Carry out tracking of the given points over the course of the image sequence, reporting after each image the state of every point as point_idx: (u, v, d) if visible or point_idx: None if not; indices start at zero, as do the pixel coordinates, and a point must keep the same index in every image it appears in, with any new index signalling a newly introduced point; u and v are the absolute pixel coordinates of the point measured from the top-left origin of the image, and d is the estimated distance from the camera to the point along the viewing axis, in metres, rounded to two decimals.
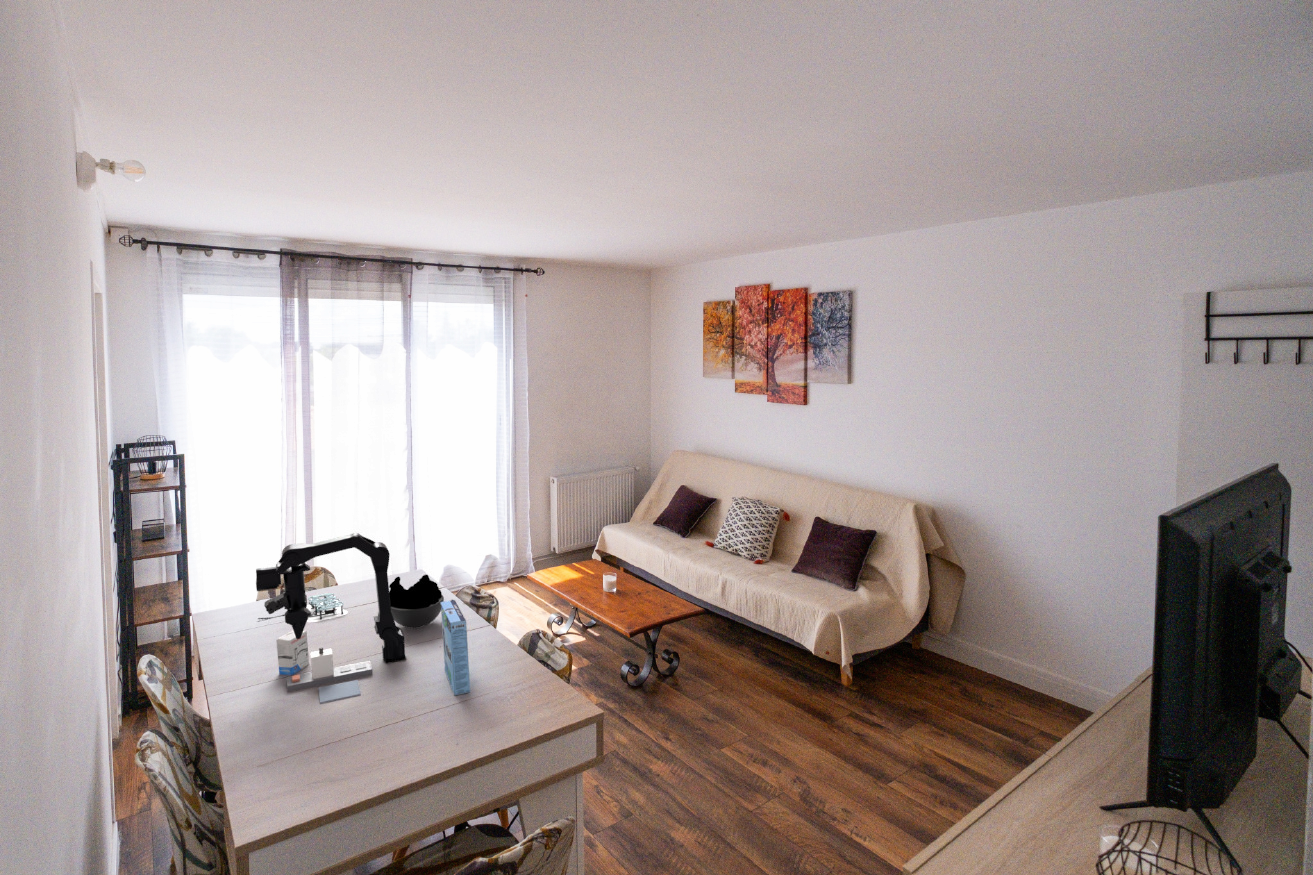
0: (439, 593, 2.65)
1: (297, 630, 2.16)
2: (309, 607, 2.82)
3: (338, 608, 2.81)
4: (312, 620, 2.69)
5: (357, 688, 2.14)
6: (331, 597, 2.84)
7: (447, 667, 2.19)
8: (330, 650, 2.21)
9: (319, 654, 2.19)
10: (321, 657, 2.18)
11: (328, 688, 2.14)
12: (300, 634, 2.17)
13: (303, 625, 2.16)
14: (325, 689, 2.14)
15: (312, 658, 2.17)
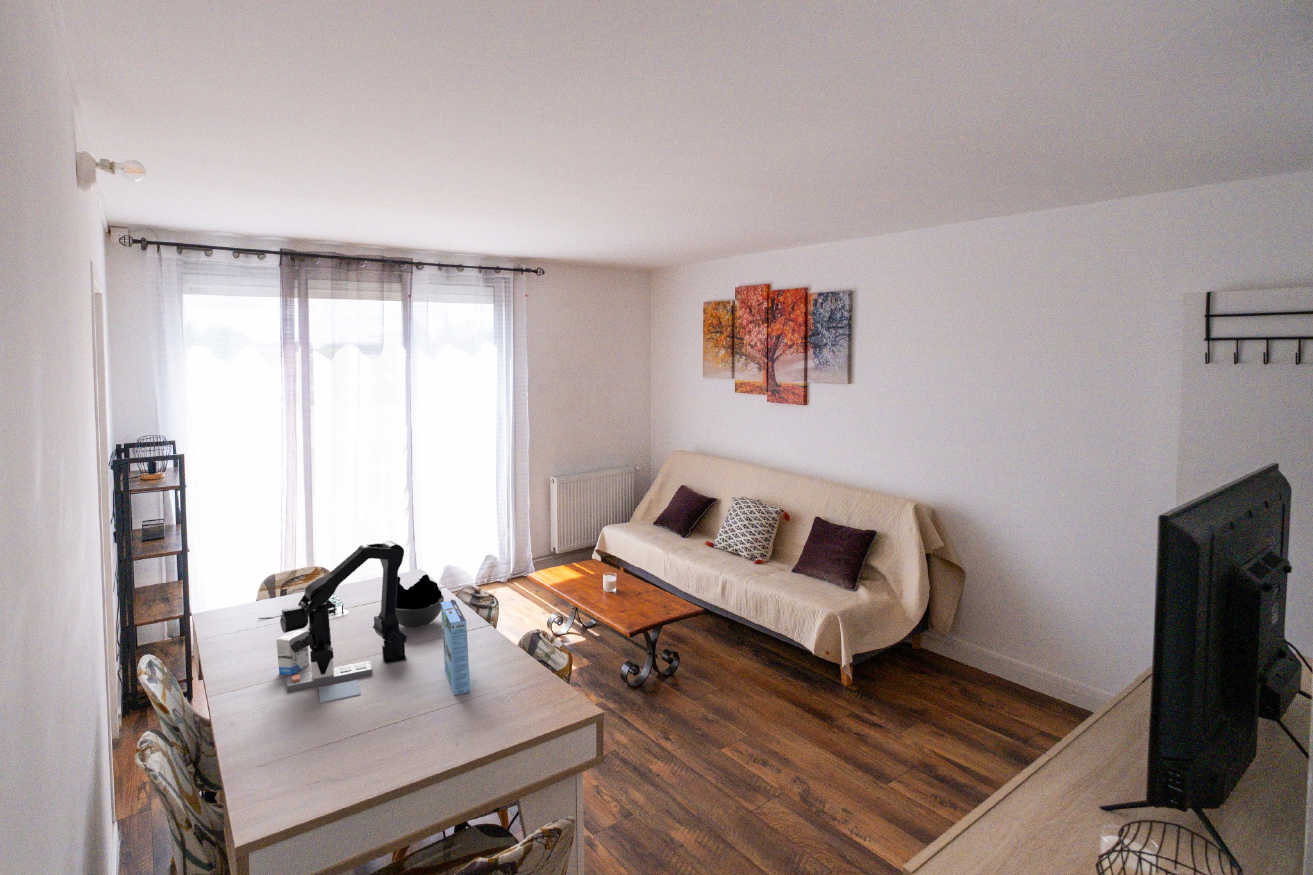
0: (439, 593, 2.65)
1: (322, 666, 2.17)
2: None
3: (338, 608, 2.82)
4: None
5: (357, 688, 2.14)
6: (331, 597, 2.84)
7: (447, 667, 2.19)
8: None
9: None
10: None
11: (328, 688, 2.14)
12: (325, 670, 2.18)
13: (328, 661, 2.17)
14: (325, 689, 2.14)
15: None
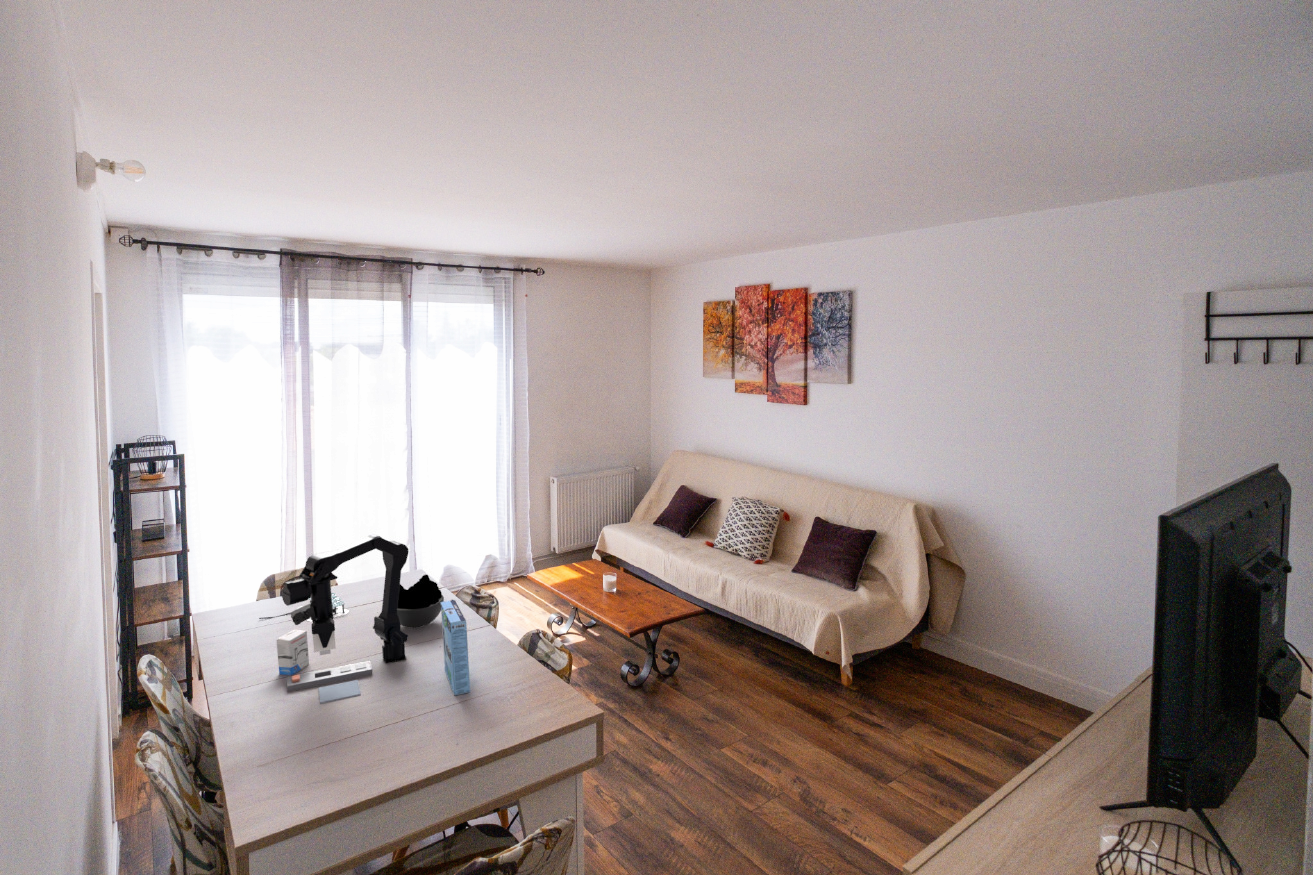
0: (439, 593, 2.65)
1: (324, 639, 2.14)
2: None
3: (339, 607, 2.82)
4: None
5: (357, 688, 2.14)
6: (332, 596, 2.84)
7: (447, 667, 2.19)
8: None
9: None
10: None
11: (328, 688, 2.14)
12: (326, 643, 2.14)
13: (329, 634, 2.14)
14: (325, 689, 2.14)
15: None
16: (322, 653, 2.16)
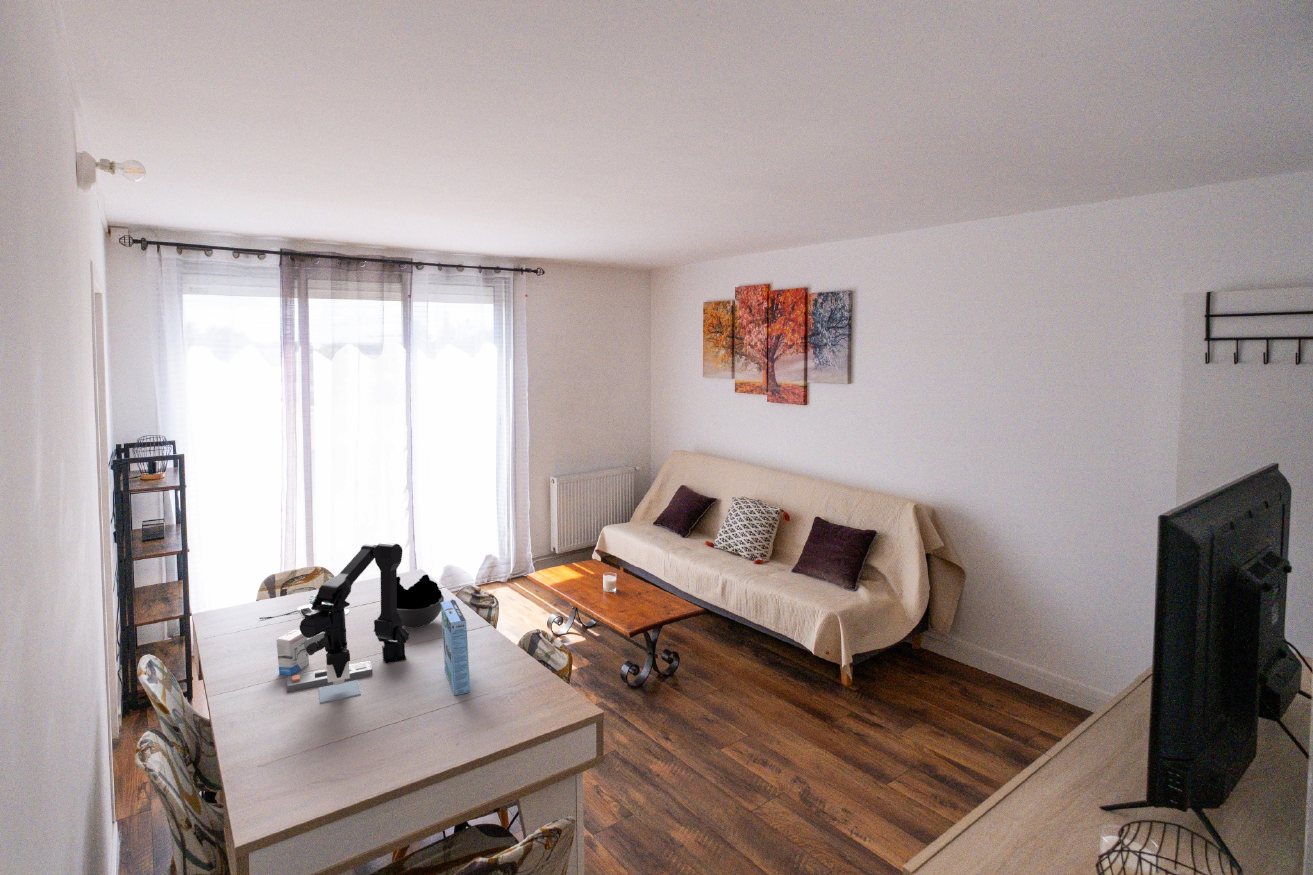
0: (439, 593, 2.65)
1: (338, 669, 2.09)
2: (310, 606, 2.83)
3: None
4: None
5: (357, 688, 2.14)
6: None
7: (447, 667, 2.19)
8: None
9: None
10: None
11: (328, 688, 2.14)
12: (341, 673, 2.10)
13: (344, 663, 2.09)
14: (325, 689, 2.14)
15: None
16: (336, 683, 2.11)
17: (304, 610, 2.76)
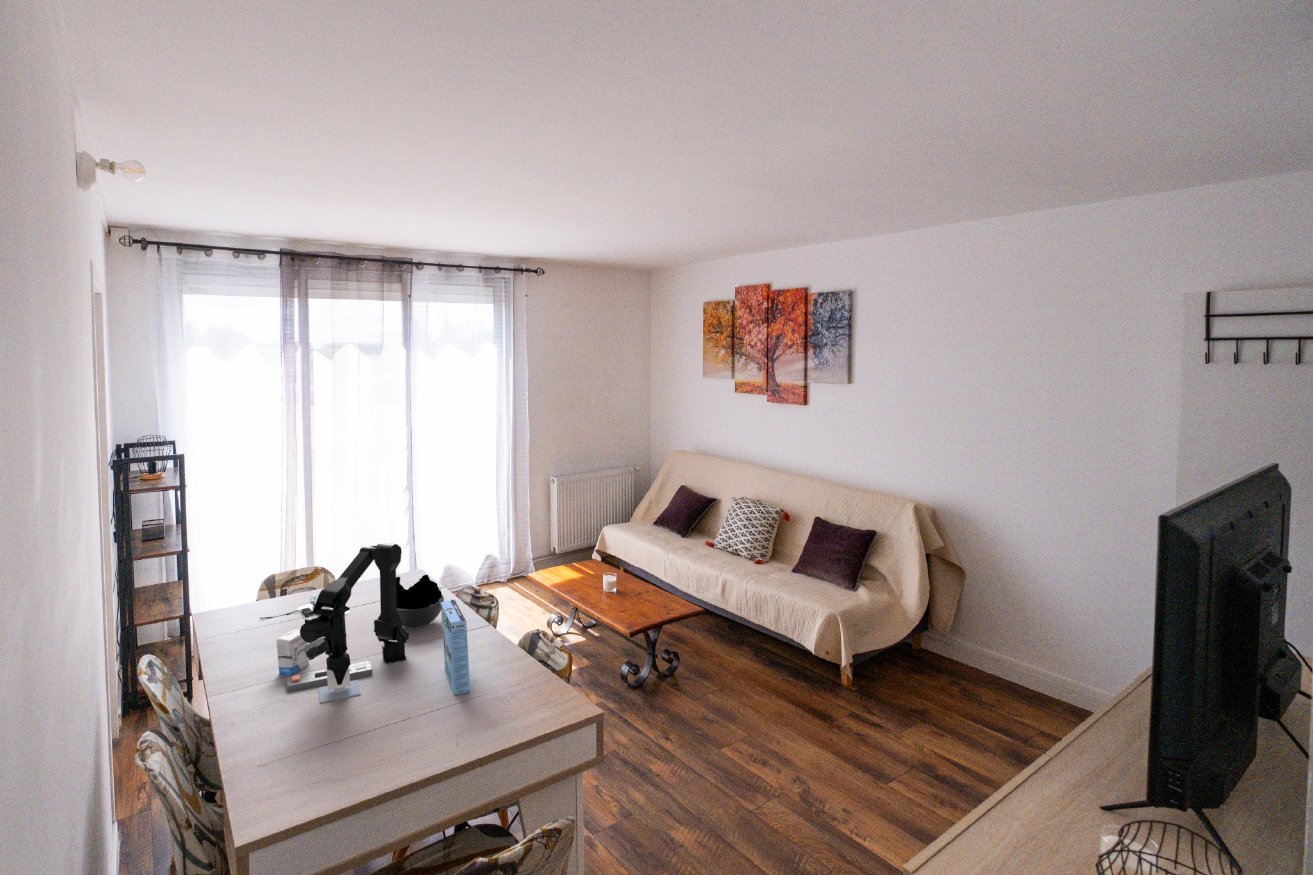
0: (439, 593, 2.65)
1: (338, 676, 2.07)
2: (310, 606, 2.83)
3: None
4: None
5: (357, 688, 2.14)
6: None
7: (447, 667, 2.19)
8: None
9: None
10: None
11: None
12: (341, 680, 2.08)
13: (345, 671, 2.07)
14: (325, 689, 2.14)
15: None
16: (336, 691, 2.12)
17: (304, 610, 2.76)
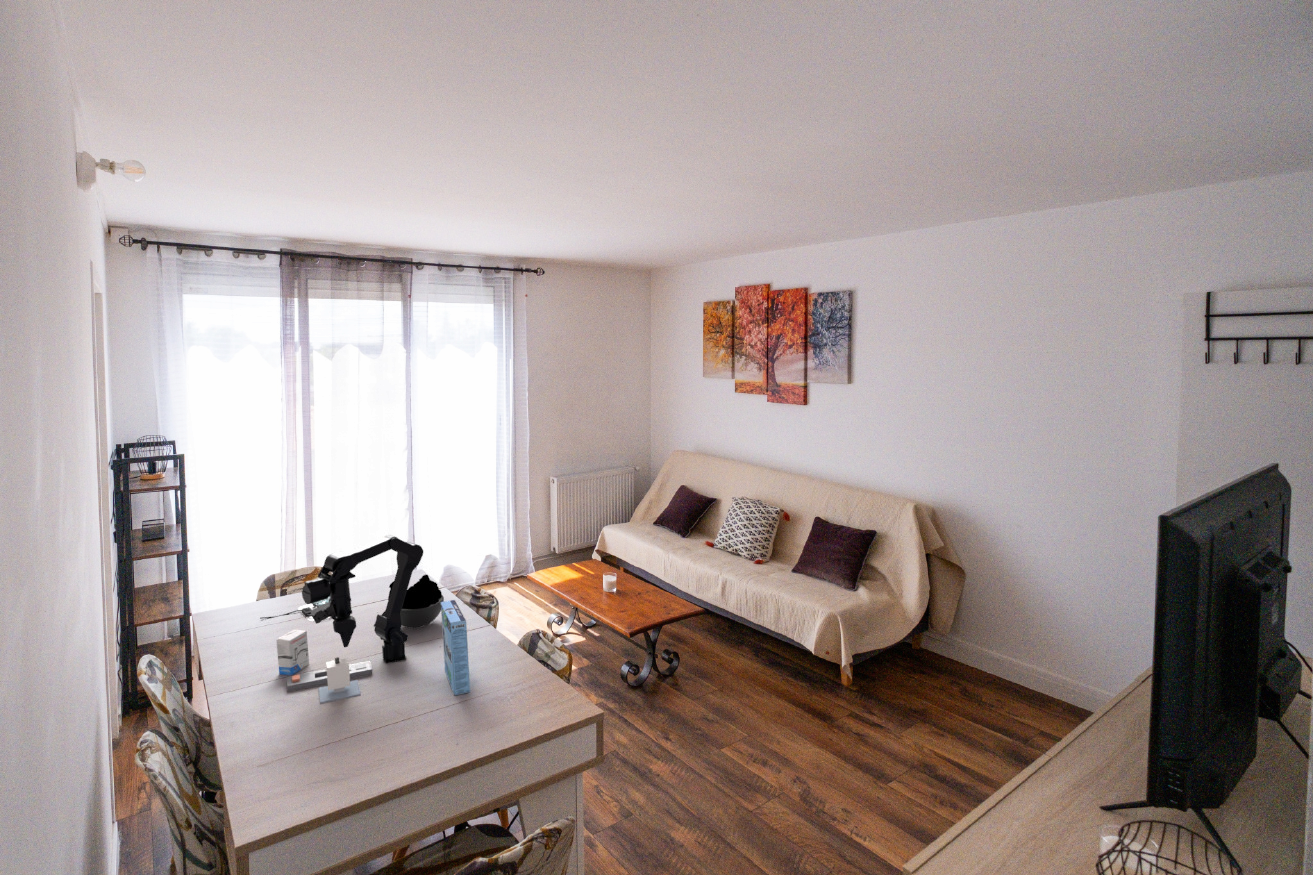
0: (439, 593, 2.65)
1: (345, 638, 2.16)
2: (310, 606, 2.84)
3: None
4: None
5: (357, 688, 2.14)
6: None
7: (447, 667, 2.19)
8: (346, 660, 2.13)
9: (335, 664, 2.11)
10: (337, 667, 2.10)
11: None
12: (348, 642, 2.17)
13: (351, 633, 2.16)
14: (325, 689, 2.14)
15: (328, 668, 2.09)
16: (336, 691, 2.12)
17: (305, 610, 2.76)
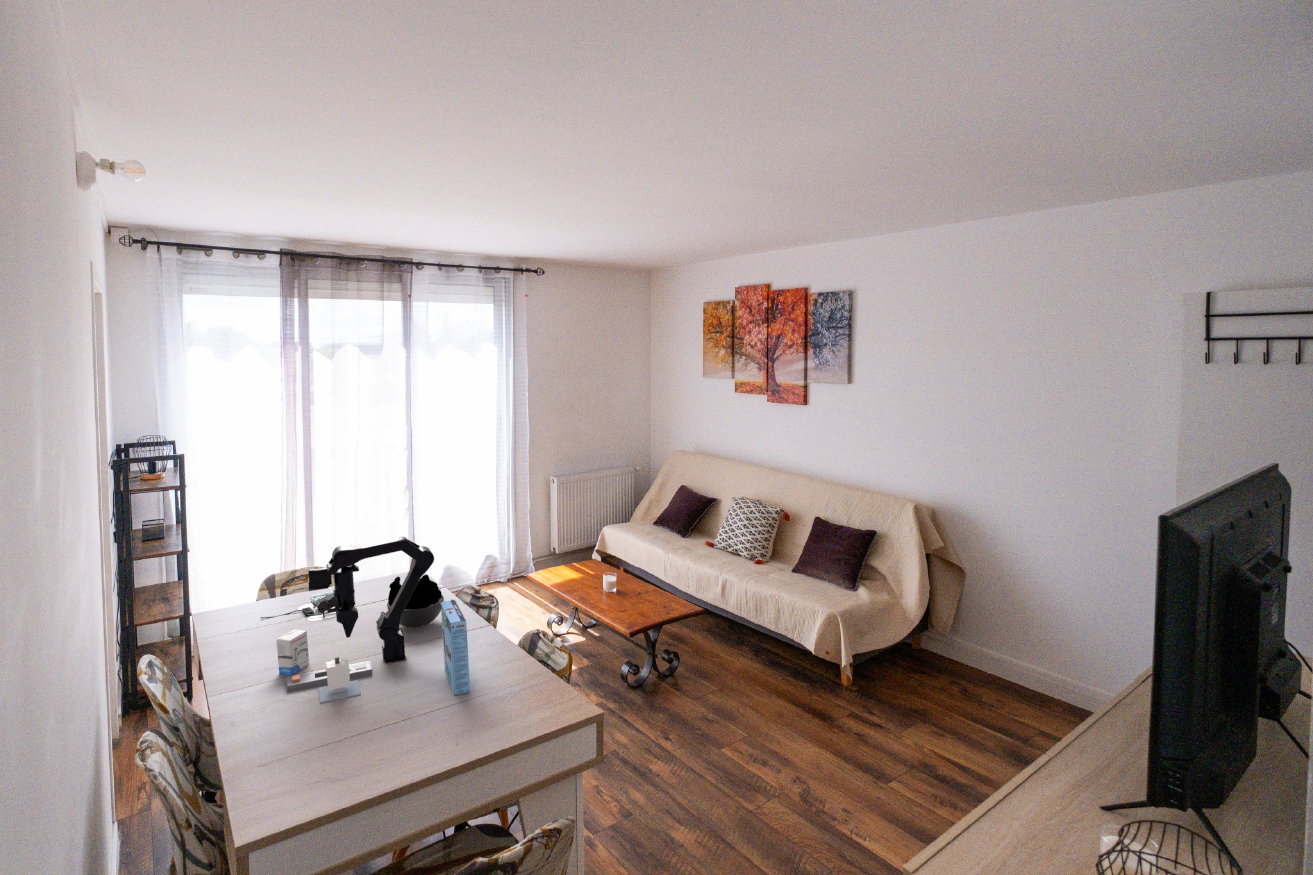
0: (439, 593, 2.65)
1: (347, 629, 2.23)
2: (311, 606, 2.84)
3: None
4: (315, 618, 2.71)
5: (357, 688, 2.14)
6: None
7: (447, 667, 2.19)
8: (346, 660, 2.13)
9: (335, 664, 2.11)
10: (337, 667, 2.10)
11: None
12: (350, 633, 2.24)
13: (353, 624, 2.23)
14: (325, 689, 2.14)
15: (328, 668, 2.09)
16: (336, 691, 2.12)
17: (305, 609, 2.76)
